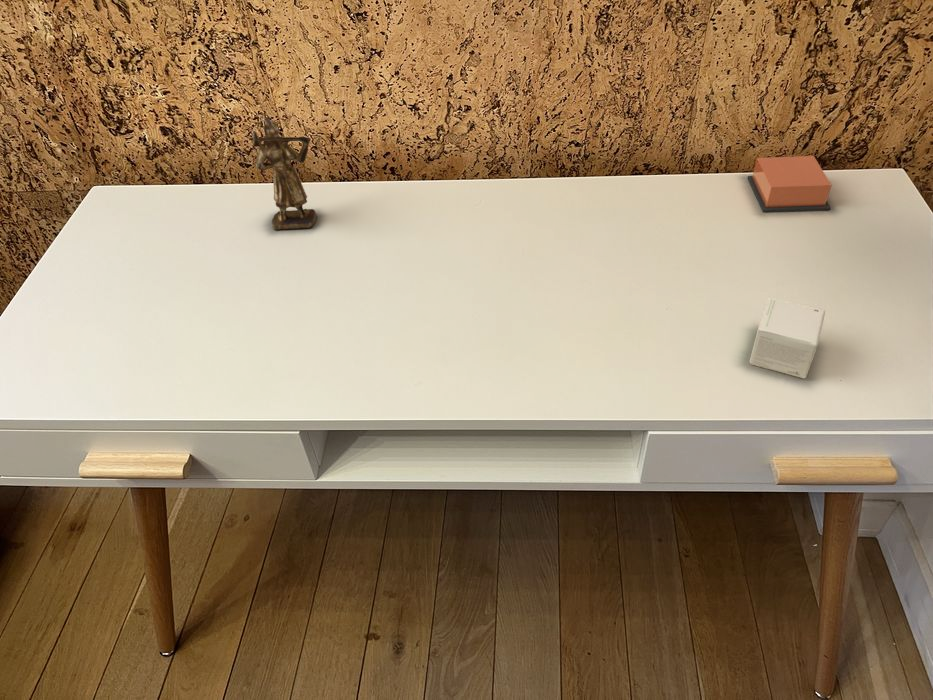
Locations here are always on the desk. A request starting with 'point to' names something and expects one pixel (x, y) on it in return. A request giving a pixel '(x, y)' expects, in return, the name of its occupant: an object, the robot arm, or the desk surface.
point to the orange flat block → (791, 181)
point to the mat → (783, 209)
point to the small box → (787, 337)
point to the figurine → (284, 176)
